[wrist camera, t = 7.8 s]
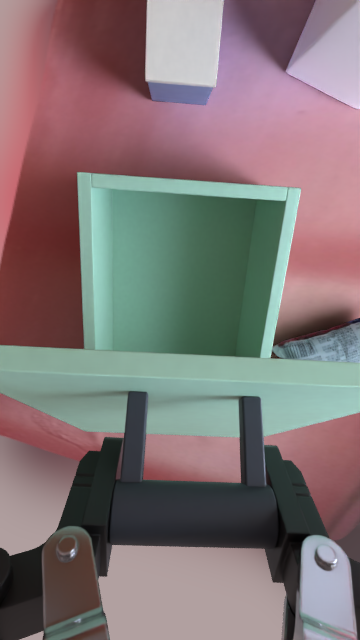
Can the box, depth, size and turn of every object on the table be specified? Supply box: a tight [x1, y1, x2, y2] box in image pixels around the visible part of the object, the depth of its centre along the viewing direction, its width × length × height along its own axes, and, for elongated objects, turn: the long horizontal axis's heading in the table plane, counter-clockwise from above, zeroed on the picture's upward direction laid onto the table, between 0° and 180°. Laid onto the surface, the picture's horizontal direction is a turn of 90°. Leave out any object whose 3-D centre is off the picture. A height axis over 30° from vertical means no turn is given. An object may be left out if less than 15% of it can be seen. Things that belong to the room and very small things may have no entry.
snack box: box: [145, 0, 224, 105], centre depth 24 cm, size 5×10×6 cm, turn 176°
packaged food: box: [272, 318, 360, 363], centre depth 36 cm, size 9×12×5 cm
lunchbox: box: [77, 172, 301, 358], centre depth 30 cm, size 20×15×9 cm
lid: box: [0, 345, 360, 549], centre depth 19 cm, size 21×15×5 cm
